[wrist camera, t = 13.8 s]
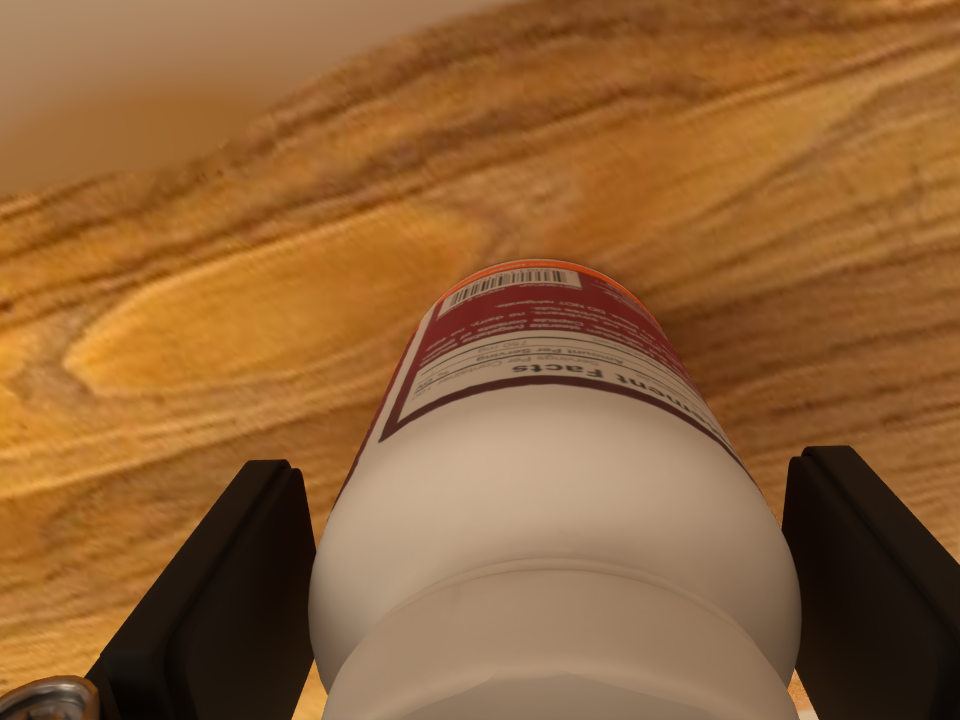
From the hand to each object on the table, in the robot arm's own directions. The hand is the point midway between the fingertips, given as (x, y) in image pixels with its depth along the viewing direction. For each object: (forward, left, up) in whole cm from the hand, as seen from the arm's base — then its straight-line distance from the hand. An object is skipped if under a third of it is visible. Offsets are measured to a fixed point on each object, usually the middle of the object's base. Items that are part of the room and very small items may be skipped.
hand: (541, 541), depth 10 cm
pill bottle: (0, 0, -6) cm, 6 cm away
